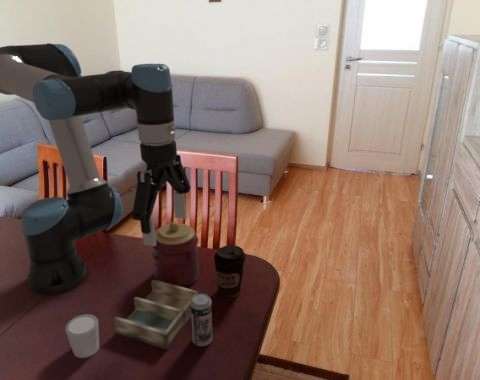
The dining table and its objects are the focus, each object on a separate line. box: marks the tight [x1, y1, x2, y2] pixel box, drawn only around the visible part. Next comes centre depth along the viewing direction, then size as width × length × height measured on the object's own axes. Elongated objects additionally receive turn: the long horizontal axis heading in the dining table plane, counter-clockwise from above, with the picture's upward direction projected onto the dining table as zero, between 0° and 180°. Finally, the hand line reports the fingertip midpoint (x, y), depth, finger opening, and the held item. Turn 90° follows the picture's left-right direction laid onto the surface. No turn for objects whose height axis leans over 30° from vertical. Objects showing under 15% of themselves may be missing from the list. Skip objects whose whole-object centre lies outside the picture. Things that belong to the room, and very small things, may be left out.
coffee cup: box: [213, 244, 247, 298], centre depth 108 cm, size 9×8×13 cm
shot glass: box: [65, 313, 100, 359], centre depth 90 cm, size 7×7×7 cm
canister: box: [151, 221, 200, 288], centre depth 113 cm, size 13×13×18 cm
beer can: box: [190, 292, 213, 347], centre depth 91 cm, size 5×5×12 cm
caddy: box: [113, 278, 200, 351], centre depth 99 cm, size 14×16×4 cm
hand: (166, 230), depth 92 cm, fingers open, 13 cm apart
